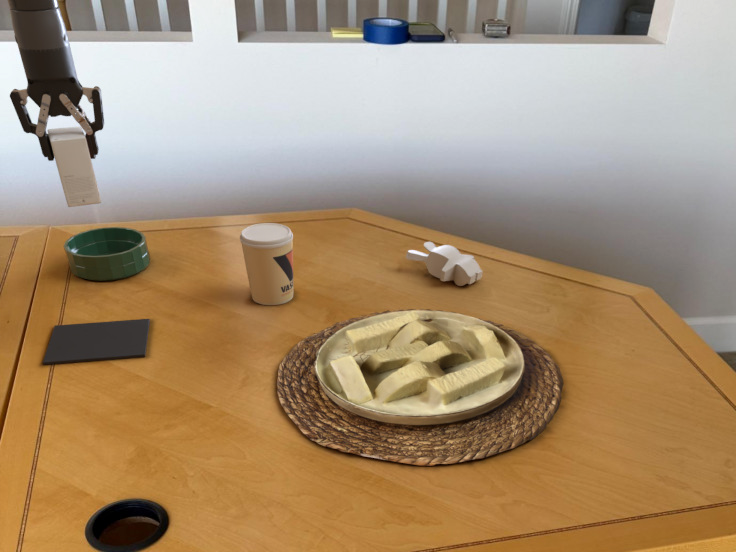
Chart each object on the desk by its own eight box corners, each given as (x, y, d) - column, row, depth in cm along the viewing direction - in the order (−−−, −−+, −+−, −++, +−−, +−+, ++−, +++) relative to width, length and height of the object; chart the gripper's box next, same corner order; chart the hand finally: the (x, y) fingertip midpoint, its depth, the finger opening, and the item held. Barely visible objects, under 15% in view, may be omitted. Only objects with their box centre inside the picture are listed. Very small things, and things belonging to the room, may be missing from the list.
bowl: (66, 285, 147) (58, 259, 144) (76, 253, 158) (69, 229, 155) (148, 279, 149) (142, 254, 146) (152, 249, 161) (147, 224, 157)
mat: (43, 365, 125) (42, 362, 124) (55, 328, 134) (54, 325, 134) (145, 357, 127) (144, 354, 127) (149, 321, 137) (149, 318, 136)
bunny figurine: (463, 273, 143) (402, 243, 149) (459, 298, 146) (399, 268, 153) (493, 258, 148) (433, 229, 154) (488, 282, 152) (430, 254, 158)
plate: (576, 333, 134) (582, 296, 129) (539, 495, 103) (546, 455, 98) (331, 301, 143) (329, 266, 138) (228, 441, 111) (220, 402, 107)
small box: (102, 204, 133) (86, 137, 126) (67, 208, 131) (50, 141, 124) (96, 189, 138) (81, 125, 131) (63, 193, 137) (46, 128, 130)
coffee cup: (290, 309, 140) (284, 243, 132) (241, 305, 141) (232, 239, 133) (303, 287, 147) (298, 223, 139) (256, 284, 148) (248, 220, 140)
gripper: (94, 37, 123) (118, 150, 134) (-2, 39, 121) (31, 154, 132) (89, 46, 118) (115, 163, 129) (-11, 48, 115) (23, 167, 126)
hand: (72, 158), depth 130 cm, fingers closed on small box, 6 cm apart
